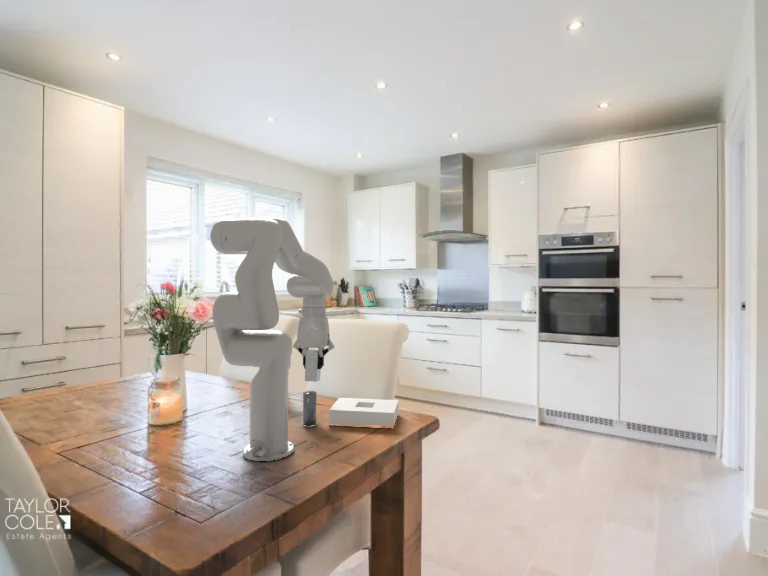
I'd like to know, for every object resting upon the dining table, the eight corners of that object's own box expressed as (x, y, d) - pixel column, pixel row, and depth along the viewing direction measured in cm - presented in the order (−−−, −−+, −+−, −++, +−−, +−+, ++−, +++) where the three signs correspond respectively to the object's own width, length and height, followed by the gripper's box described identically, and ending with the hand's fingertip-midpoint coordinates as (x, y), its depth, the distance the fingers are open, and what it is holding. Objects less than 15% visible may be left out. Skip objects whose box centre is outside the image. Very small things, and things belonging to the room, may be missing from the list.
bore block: (393, 429, 130) (393, 412, 130) (328, 426, 132) (328, 409, 132) (398, 415, 143) (398, 400, 143) (339, 412, 146) (339, 397, 146)
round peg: (314, 427, 131) (314, 394, 131) (301, 427, 131) (301, 394, 131) (317, 423, 135) (318, 391, 135) (305, 422, 135) (305, 390, 135)
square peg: (316, 381, 140) (317, 350, 141) (304, 381, 141) (306, 350, 142) (320, 380, 144) (321, 349, 145) (308, 379, 145) (309, 349, 146)
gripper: (285, 312, 141) (285, 369, 141) (336, 313, 139) (335, 371, 138) (293, 312, 148) (292, 365, 148) (341, 313, 146) (340, 367, 146)
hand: (313, 367), depth 143 cm, fingers closed on square peg, 4 cm apart
